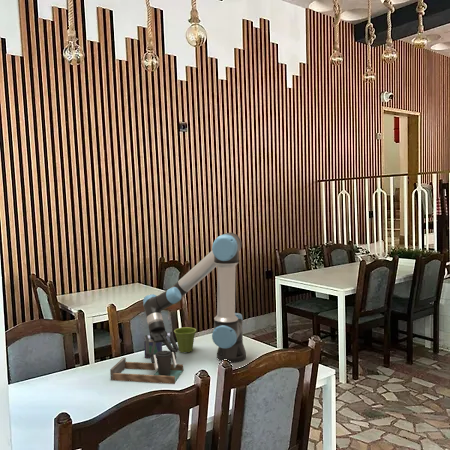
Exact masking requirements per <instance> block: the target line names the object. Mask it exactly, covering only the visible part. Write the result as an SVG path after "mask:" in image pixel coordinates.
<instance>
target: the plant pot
mask: <svg viewBox="0 0 450 450" xmlns="http://www.w3.org/2000/svg"><path fill="white" fill-rule="evenodd" d="M173 332H174V334H175V337H176V338H175V339H176V344H177V346H178V348H179V350H178V352H179V351H180V352H179V353H182V352H188V353H191V352H193V348H194V341H195V335H196V332H197V329H196V328H194V327H191V326H190V327H188V326H187V327H185V326H184V327H179V328H175V329H174V330H173ZM190 351H191V352H190Z"/></svg>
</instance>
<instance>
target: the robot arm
mask: <svg viewBox="0 0 450 450" xmlns="http://www.w3.org/2000/svg"><path fill="white" fill-rule="evenodd" d="M211 246H212V247H211V250H210V252H209V253H207V255H205V256H204V257H203V258H202V259H201V260H199V262H198V263H196V265H194V266H193V267H192V268H191V269H190V270H189V271H187V272H186V274H184V275H183V276H182V277H181V278H180V279H179V280H178V281H176V282H175V283H174V284H173V285H172V286H171V287H170V288H168V289H167V290H165V291H162V293H160V294H159V295H156V294H154V293H153V294H152V293H151V294H147V295H146V296H144V297H143V299H142V303H143V304H142V305H143V310H144V313H145V317H146V322H147V326H148V331H149V334H148V335H144V338H143V339H144V341H145V342H146V357H150V358H149V359H150V361H151V362H150V363H154V366H155V370H154V371H157V369H158V365H157V359H156V356H155V355H153V354H154V350H155V345H156V343H158V342H162V344H164V345H165V346H166V348H167V349H168V351H171V352H172V357H171V363H172V364H173V366H174V368H175V367H176V365H177V364H178V363H177V361H176V360H177V353H178V352H179V348H178V343H177V341H176V340H175V339H176V338H175V337H174V333H173V332H174V331H171V332H167V331H166V327H165V323H164V320H163V315H162V311H163V310H165V309H167V308H169V307H171V306H173V305H176V304H177V303H178V302H180V301H181V300H182V298H183V297H185V295H186V294H188V292H190V290H191V289H193V288H194V287H195V286H196V285H197V284H199V282H201V281H202V280H203V279H204V278H205V277H206V276H207V275H209V274H210V273H211V272H212V271H213V270H214V269H215V268H217V269H216V270H217V271H216V273H217V279H216V280H217V281H216V282H217V283H216V284H217V285H216V286H217V288H216V290H217V292H216V297H217V298H216V299H217V300H216V301H217V302H216V305H217V306H216V307H217V310H216V311H217V312H216V316H214V318H213V319H214V320H213V330H212V334H211V339H212V341H213V343H214V344H215V345H216V347H218V348H217V351H216V359H217V358H218V359H219V360H218V359H217V360H218V361H220V360H221V361H220V362H223V361H222V360H224V359H227V360H229V361H231V362H230V363H240V362H242V361H245V360H246V359H247V351H246V349H245V345H244V343H243V342H244V340H243V338H244V337H243V334H244V333H243V331H244V329H243V327H244V326H243V320H244V319H243V314H241V313H239V312H236V266H237V265H238V264H239V257H240V256H239V252H240V251H241V249H242V240H241V238H240V236H239V235H238V234H236V233H234V232H225V233H223V234H221V235H219V236H217V237H216V238H215V239H214V241H213V243H212V245H211ZM167 337H168V338H169V340H168V338H167ZM149 339H150V340H151V339H152V340H153V346H152V350H151V353H149ZM169 341H170V342H169ZM239 361H240V362H239Z"/></svg>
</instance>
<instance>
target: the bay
mask: <svg viewBox="0 0 450 450" xmlns="http://www.w3.org/2000/svg"><path fill="white" fill-rule="evenodd" d="M126 360H127V359H126V357H122V358H121V359H120V360H119V361H118V362H117V363H116V364H115V365H114V366H112V367H111V368H110V370H109V371H110V374H109V375H110V378H109V379H110V381H119V382H136V383H137V382H139V383H154V384H155V383H156V384H172V385H174V384H175V383H176V382H177V381H178V379H179V378H180V376H181V374H182V373H183V371H184V364H181V363H176V364H177V365H176V367H175V368H174V366H173V363H171V368H170V374H167V375H160V374H159V373H158V369H157V370H155V366H154V363H152V362H139V361H126ZM126 369H128V370H147V371H148V370H149V371H155V373H154V374H141V373H125V372H124V370H126Z"/></svg>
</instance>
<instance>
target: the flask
mask: <svg viewBox="0 0 450 450" xmlns="http://www.w3.org/2000/svg"><path fill="white" fill-rule="evenodd" d="M143 342H144V358H145V359H151V358H150V357H146V342H145V340H144V341H143ZM152 346H153V340H152V339H151V338H150V339H149V353H151V350H152ZM159 351H163V342H158V343H156V345H155V350H154V354H153V355H155V354H156V353H157V352H159Z"/></svg>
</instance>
